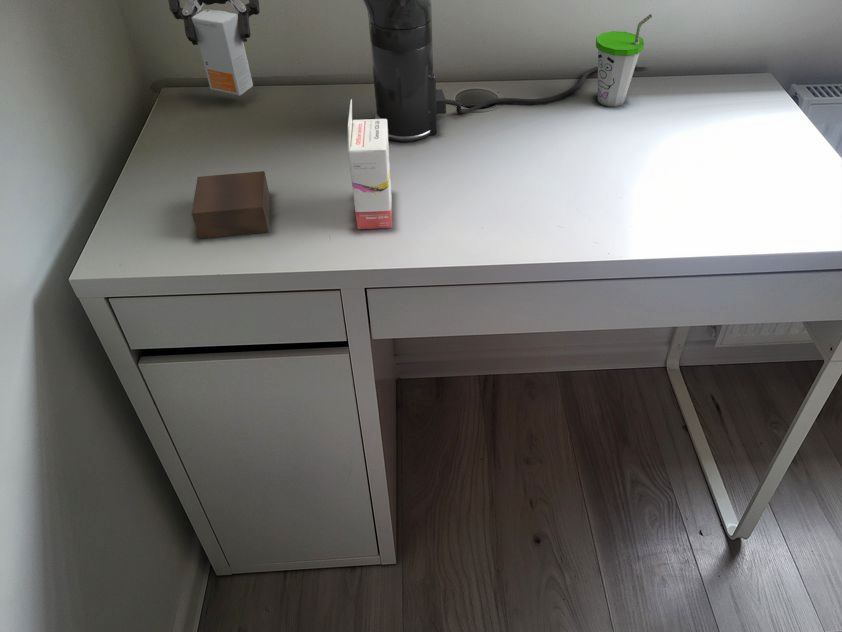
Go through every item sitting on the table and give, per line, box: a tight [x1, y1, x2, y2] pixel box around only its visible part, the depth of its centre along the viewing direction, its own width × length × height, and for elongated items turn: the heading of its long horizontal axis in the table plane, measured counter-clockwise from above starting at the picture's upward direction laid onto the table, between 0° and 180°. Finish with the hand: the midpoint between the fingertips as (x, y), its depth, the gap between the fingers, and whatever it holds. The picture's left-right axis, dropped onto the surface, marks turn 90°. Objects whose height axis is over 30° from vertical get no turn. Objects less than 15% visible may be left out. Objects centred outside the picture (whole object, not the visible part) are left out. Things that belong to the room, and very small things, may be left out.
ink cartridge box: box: [347, 98, 393, 230], centre depth 93 cm, size 9×5×15 cm, turn 5°
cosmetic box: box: [192, 8, 254, 97], centre depth 116 cm, size 6×4×12 cm
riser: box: [191, 170, 271, 239], centre depth 96 cm, size 9×9×4 cm
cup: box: [595, 13, 653, 108], centre depth 117 cm, size 8×8×15 cm
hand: (219, 41), depth 113 cm, fingers closed on cosmetic box, 7 cm apart
